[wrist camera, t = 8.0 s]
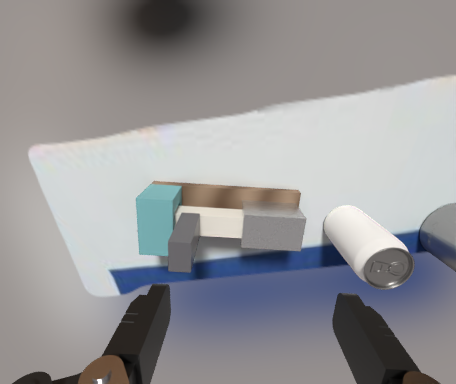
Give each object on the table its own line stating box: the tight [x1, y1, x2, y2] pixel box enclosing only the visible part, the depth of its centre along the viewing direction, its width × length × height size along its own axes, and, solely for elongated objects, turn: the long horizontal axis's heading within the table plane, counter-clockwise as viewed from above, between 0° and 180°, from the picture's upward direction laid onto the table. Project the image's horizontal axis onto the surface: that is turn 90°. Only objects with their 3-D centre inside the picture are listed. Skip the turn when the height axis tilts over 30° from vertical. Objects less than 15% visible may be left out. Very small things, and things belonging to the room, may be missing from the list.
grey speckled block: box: [240, 200, 306, 251], centre depth 35 cm, size 8×5×5 cm, turn 86°
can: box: [324, 205, 414, 290], centre depth 33 cm, size 6×6×12 cm
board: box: [152, 181, 301, 209], centre depth 38 cm, size 22×8×2 cm, turn 86°
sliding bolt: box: [168, 206, 243, 272], centre depth 31 cm, size 14×4×10 cm, turn 86°
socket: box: [136, 184, 182, 256], centre depth 34 cm, size 4×8×6 cm, turn 177°
